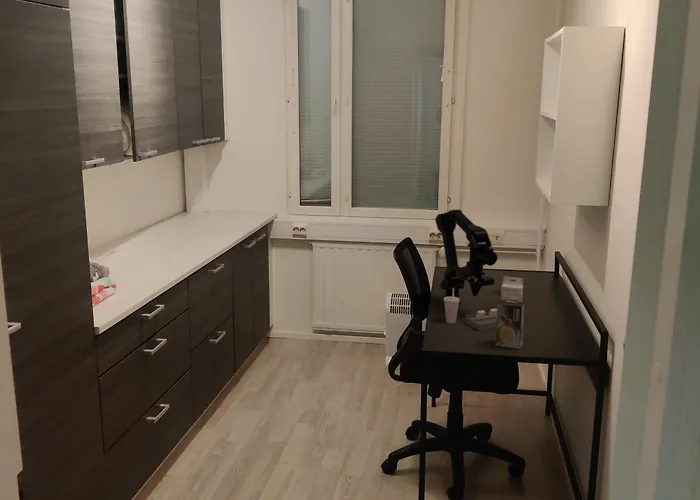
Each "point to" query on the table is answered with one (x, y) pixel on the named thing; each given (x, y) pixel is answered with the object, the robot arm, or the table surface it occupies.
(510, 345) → the coffee box
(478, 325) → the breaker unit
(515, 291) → the ink cartridge box
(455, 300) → the smoothie
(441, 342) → the table surface
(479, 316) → the breaker paddles
